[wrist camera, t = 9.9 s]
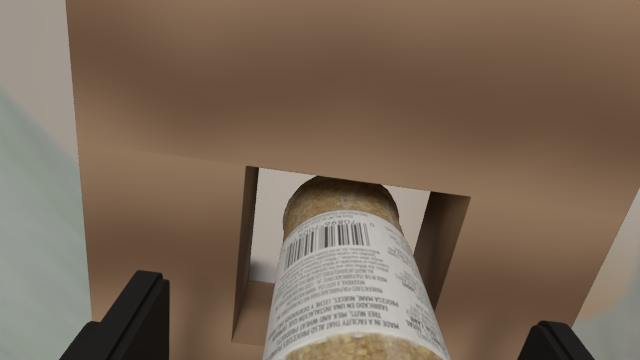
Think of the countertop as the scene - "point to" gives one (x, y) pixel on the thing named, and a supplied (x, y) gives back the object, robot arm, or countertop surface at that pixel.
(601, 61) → the walnut hole board
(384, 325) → the sprinkles bottle
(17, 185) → the countertop surface
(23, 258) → the countertop surface
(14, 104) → the countertop surface
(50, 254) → the countertop surface
